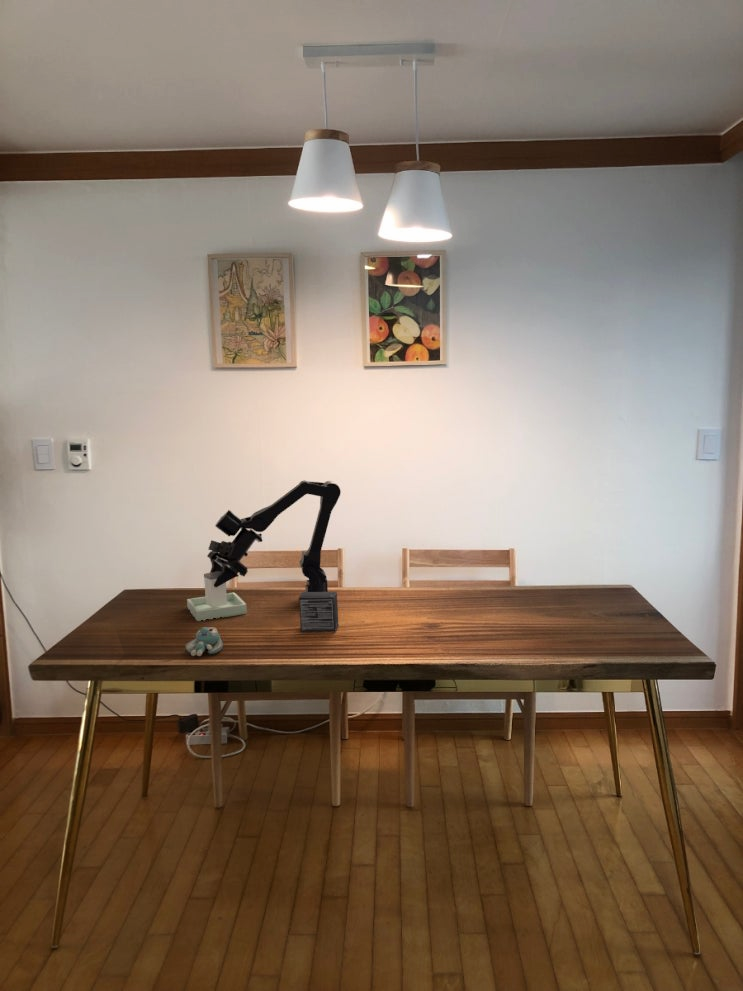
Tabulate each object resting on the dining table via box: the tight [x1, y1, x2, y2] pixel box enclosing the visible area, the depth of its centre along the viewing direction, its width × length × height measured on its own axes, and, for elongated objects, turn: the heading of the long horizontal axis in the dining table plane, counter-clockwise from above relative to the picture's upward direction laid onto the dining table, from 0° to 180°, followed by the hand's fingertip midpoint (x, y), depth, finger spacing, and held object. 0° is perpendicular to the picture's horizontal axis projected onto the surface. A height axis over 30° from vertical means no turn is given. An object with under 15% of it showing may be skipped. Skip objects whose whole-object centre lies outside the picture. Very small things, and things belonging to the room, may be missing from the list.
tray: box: [186, 592, 248, 622], centre depth 255 cm, size 16×16×3 cm
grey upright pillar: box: [203, 571, 227, 608], centre depth 254 cm, size 5×5×10 cm
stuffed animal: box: [185, 626, 224, 657], centre depth 218 cm, size 11×7×12 cm
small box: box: [298, 591, 340, 633], centre depth 233 cm, size 11×6×10 cm, turn 84°
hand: (211, 584), depth 253 cm, fingers closed on grey upright pillar, 5 cm apart
